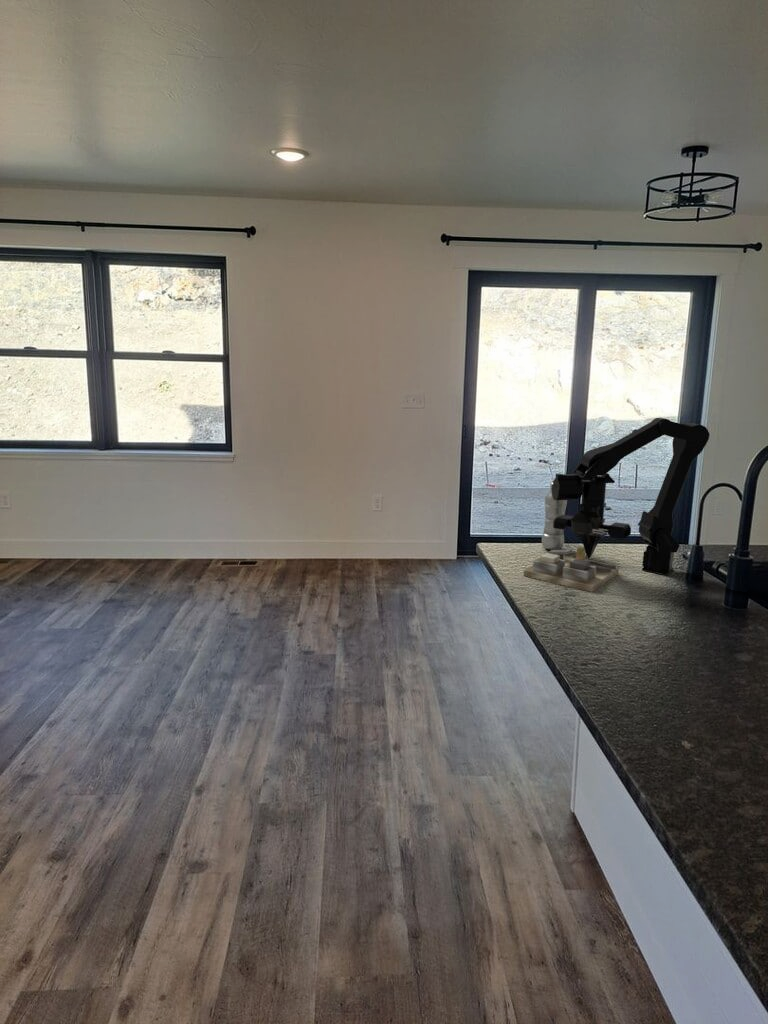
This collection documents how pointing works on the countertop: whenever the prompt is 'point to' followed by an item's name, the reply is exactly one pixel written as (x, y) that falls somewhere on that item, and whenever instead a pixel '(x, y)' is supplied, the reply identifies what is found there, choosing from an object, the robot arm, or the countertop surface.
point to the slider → (581, 553)
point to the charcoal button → (580, 564)
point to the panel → (572, 573)
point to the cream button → (549, 558)
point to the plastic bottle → (553, 509)
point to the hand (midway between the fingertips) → (588, 558)
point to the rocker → (560, 552)
